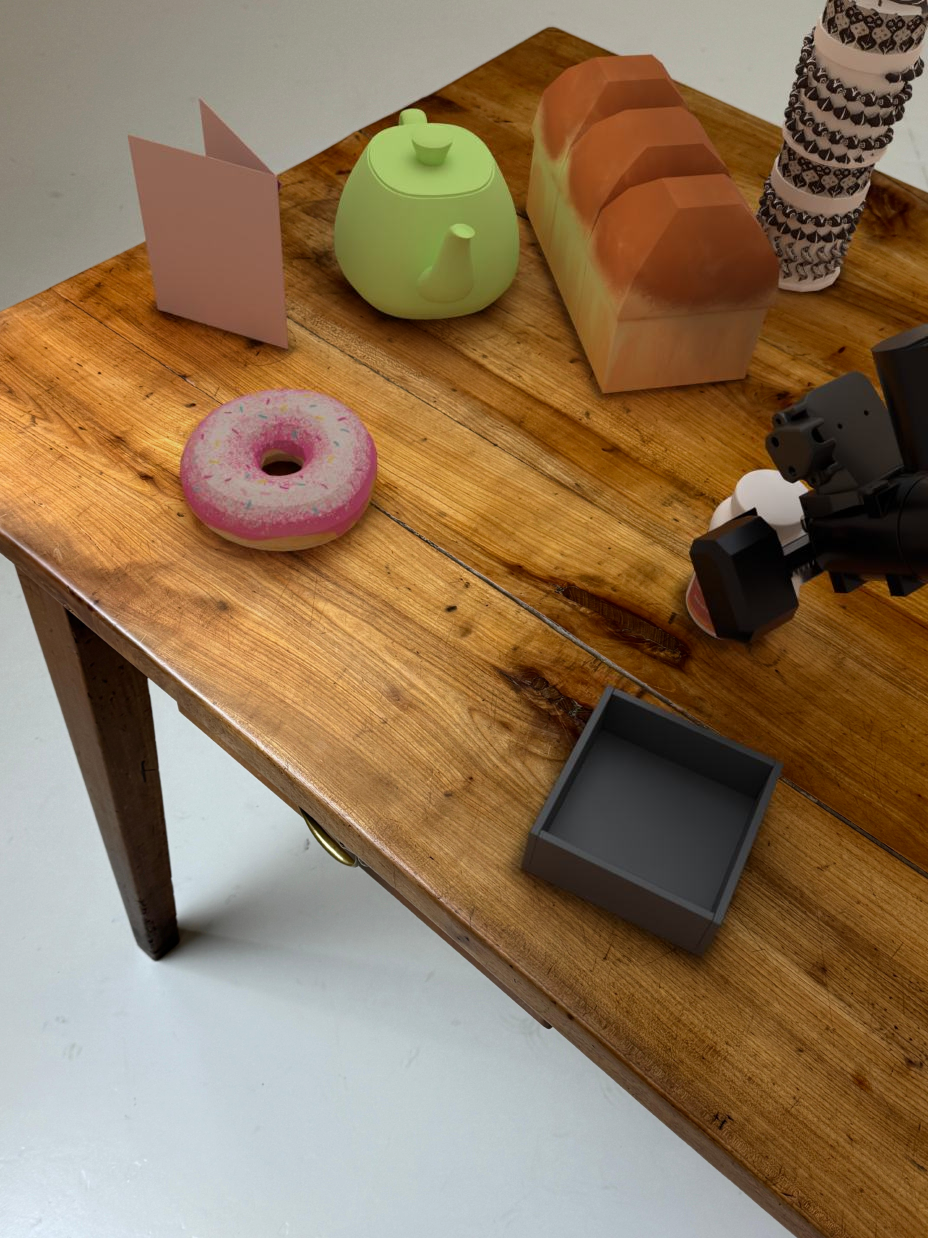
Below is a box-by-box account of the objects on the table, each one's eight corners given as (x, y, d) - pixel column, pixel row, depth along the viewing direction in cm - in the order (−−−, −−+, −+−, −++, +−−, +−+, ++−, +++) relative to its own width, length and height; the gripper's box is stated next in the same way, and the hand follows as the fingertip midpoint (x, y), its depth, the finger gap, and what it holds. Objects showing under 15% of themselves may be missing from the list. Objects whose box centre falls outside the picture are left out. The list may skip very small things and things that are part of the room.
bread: (750, 381, 93) (806, 219, 81) (600, 397, 91) (635, 232, 79) (652, 197, 108) (688, 36, 96) (521, 207, 105) (540, 43, 94)
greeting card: (298, 345, 92) (288, 172, 80) (212, 377, 89) (189, 203, 77) (229, 266, 98) (210, 93, 86) (146, 294, 95) (114, 119, 83)
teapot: (547, 368, 93) (570, 224, 82) (358, 385, 90) (357, 238, 80) (486, 203, 105) (500, 60, 95) (319, 214, 103) (314, 68, 92)
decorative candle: (831, 231, 106) (939, -63, 86) (854, 296, 101) (975, -1, 81) (732, 226, 106) (817, -70, 86) (750, 292, 100) (845, -9, 80)
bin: (763, 801, 71) (784, 763, 67) (701, 958, 64) (720, 925, 61) (595, 724, 73) (607, 684, 69) (520, 868, 67) (529, 832, 63)
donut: (193, 578, 78) (184, 528, 74) (177, 436, 85) (167, 384, 81) (394, 552, 80) (395, 502, 76) (360, 417, 88) (360, 365, 84)
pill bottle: (778, 650, 77) (831, 541, 69) (685, 641, 77) (726, 530, 69) (770, 577, 81) (820, 464, 72) (682, 568, 81) (720, 454, 72)
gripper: (1017, 319, 62) (809, 359, 76) (760, 446, 55) (583, 465, 69) (1065, 514, 65) (856, 519, 79) (826, 659, 58) (642, 636, 72)
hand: (740, 530), depth 75 cm, fingers closed on pill bottle, 6 cm apart
